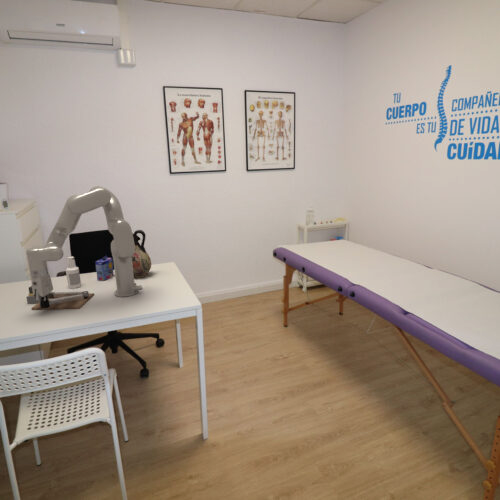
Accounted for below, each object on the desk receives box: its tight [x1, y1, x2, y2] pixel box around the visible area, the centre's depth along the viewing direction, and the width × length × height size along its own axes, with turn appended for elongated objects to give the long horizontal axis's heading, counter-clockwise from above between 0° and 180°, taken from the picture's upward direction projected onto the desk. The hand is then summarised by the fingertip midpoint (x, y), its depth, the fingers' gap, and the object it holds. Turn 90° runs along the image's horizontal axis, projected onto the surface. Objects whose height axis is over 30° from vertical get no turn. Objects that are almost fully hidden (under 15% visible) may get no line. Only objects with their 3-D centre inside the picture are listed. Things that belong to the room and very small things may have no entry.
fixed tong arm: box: [49, 291, 83, 298], centre depth 191 cm, size 19×2×2 cm, turn 91°
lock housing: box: [26, 295, 40, 305], centre depth 190 cm, size 6×8×4 cm
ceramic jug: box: [131, 229, 152, 279], centre depth 223 cm, size 17×15×30 cm
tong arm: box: [40, 290, 90, 307], centre depth 185 cm, size 23×4×3 cm, turn 116°
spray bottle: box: [65, 256, 82, 290], centre depth 207 cm, size 7×7×18 cm
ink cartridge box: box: [94, 255, 115, 282], centre depth 221 cm, size 10×6×14 cm, turn 163°
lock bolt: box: [27, 285, 34, 296], centre depth 189 cm, size 6×6×4 cm
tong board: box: [31, 292, 95, 311], centre depth 187 cm, size 24×18×1 cm
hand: (45, 307), depth 177 cm, fingers closed
